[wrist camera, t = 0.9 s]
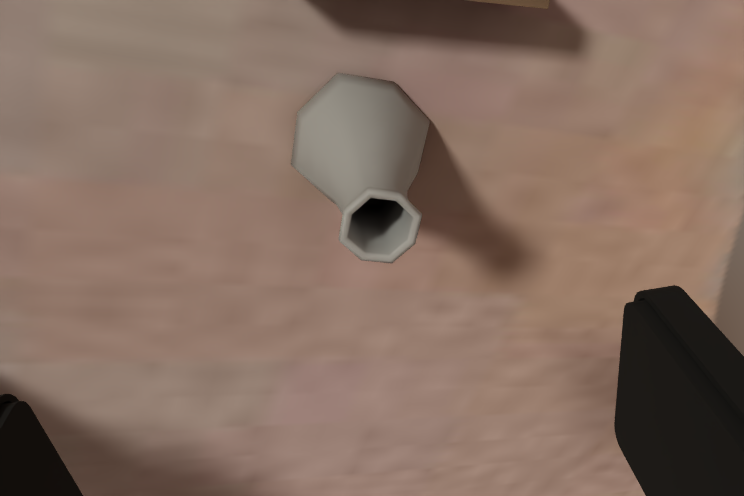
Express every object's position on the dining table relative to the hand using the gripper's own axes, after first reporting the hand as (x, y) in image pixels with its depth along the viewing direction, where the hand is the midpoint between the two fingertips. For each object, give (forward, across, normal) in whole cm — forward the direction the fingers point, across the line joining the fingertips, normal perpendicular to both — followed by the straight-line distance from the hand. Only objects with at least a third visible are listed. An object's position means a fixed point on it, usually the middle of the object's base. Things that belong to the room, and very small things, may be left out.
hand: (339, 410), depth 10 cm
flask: (+24, -1, +5) cm, 25 cm away
